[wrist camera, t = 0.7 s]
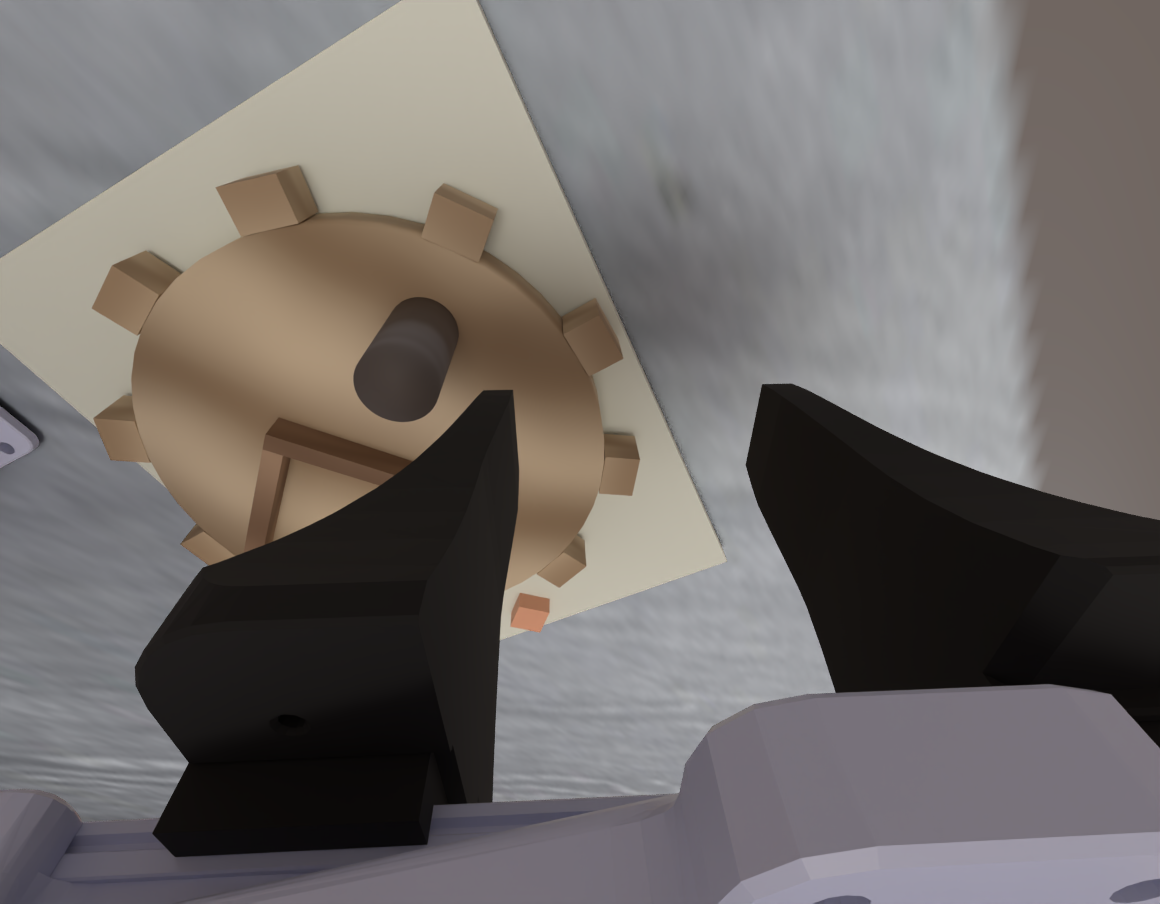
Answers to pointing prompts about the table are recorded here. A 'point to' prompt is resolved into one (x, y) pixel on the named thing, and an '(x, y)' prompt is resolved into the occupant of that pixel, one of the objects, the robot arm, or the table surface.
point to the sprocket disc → (354, 371)
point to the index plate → (383, 187)
